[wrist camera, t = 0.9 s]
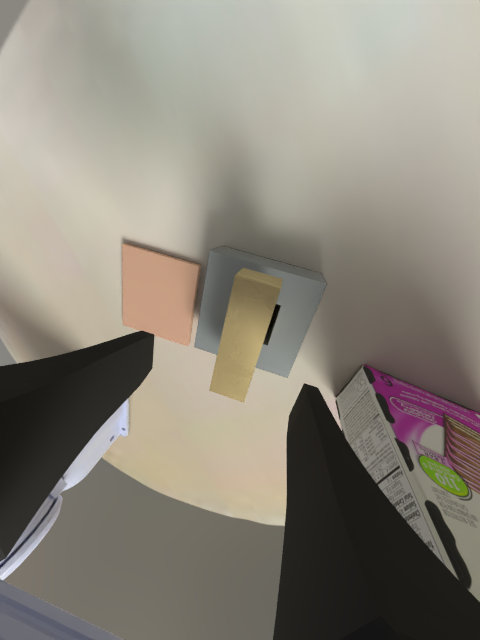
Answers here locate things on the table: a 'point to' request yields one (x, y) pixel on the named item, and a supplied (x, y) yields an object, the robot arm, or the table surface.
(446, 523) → the candy bar box
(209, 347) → the slate socket block
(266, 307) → the brass rectangular peg
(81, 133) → the table surface
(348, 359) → the table surface
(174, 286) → the terracotta pad
